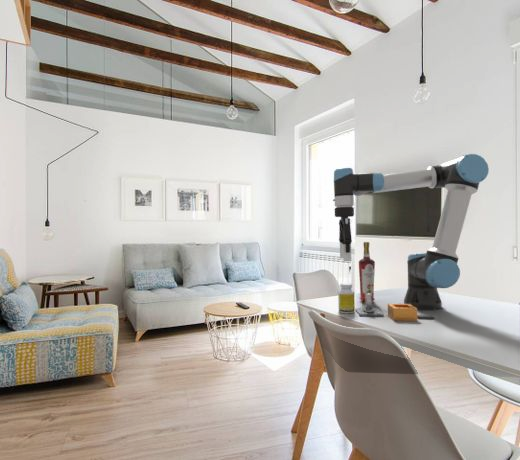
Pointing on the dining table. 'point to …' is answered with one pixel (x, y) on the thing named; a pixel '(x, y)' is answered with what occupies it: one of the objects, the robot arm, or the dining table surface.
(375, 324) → the dining table surface
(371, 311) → the keeper
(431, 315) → the grey rectangular block
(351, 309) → the pill bottle
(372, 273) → the liquor
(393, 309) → the square wooden frame
